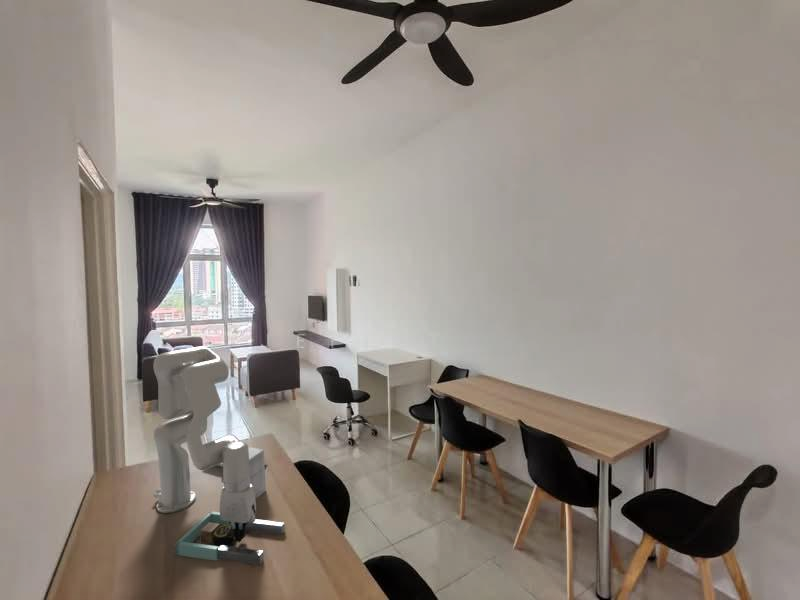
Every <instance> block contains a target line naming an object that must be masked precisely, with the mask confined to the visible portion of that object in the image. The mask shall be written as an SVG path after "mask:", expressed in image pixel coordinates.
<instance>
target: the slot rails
mask: <svg viewBox="0 0 800 600" xmlns="http://www.w3.org/2000/svg"><path fill="white" fill-rule="evenodd" d="M245 527H246V532H256V533H261V534H262V533H263V534H272V535H279V536H283V534H284V533H285V531H286V530H285V527H286V526H285V522H284V521H283V522H282V521H275V520H274V521H272V520H265V519H257V518H256V520H255V521H254V523H251V524H247V525H246V526H245ZM217 555H218V559H217V560H223V561H230V562H236V563H244V564H250V565H257V566H258V565H259V566H261V564H262V563H264V561H265V559H264V557H265V556H264V550H261V549H260V550H259V549H254V548H253V549H252V548H246V547H245V548H244V547H237V546H230V545H227V546H223V545H221V546H220V547H219V548H218V549H217Z"/></svg>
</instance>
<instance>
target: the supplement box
mask: <svg viewBox="0 0 800 600" xmlns="http://www.w3.org/2000/svg"><path fill="white" fill-rule="evenodd" d="M248 450H249V470H250V484H251V485H252V487H253V490H254V495H255V500H256V499H257V498H259V496H261V495H262V494H263V493H265V492H266V491H267V489H266V487H267V486H266V485H267V484H266V468H265V467H266V465H265V464H266V463H265V450H264V449H260V448H256V447H250V446H248Z"/></svg>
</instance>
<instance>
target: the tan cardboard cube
mask: <svg viewBox="0 0 800 600" xmlns="http://www.w3.org/2000/svg"><path fill="white" fill-rule="evenodd" d="M219 527H221V525H220V524H218V523H211V522H209V523H208V524H207V525H206V526H204V527H203V528H202V529H201V530H200V535H199V537H200V544H207V545H212V544H213V540H212V537H213V533H214V532H215V530H216V529H218V528H219Z"/></svg>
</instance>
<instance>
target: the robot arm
mask: <svg viewBox="0 0 800 600" xmlns="http://www.w3.org/2000/svg"><path fill="white" fill-rule="evenodd" d="M153 372H154V375H155V376H156V377H155V378H156V380H157V386H158V389H157V390H158V412H159V416H160V417H161V418H162V419H164V420H167V421H164V422H162V423H161V424H159V425H157V427H155V429H154V430H153V431H154V432H153V439H154V443H155V446H156V452H157V458H158V468H159V470H158V471H159V484H160V486H159V487H160V488H159V487H158V488H157V489H156V490H155V493H154V494H153V498H155V499H157V498H158V502H157V503H156V510H157V511H158V512H160V513H163V514H168V513H176V512H178V511H181V510H184V509H185V508H187V507H189V506H191V505H192V504H193V503H194V502H195V501H196V497H197V496H196V492H195V491H193V490H192V489H191V475H190V474H191V473H190V472H191V471H190V459H189V455H190V458H191V462H192V464H193V466H194V467H195V468H196V469H197V470H200V471H206V470H209V469H211V468H214V467H216V466H217V465H218V464H220V463H223V467H222V472H223V474H222V475H223V477H222V478H221V483H223V487H222V488H221V492H220V499H219V512H220V518H221V520H223V521H228V522H229V523H230V524H231V525H232V529H234V536H235V537H234V542H236V543H237V542H238V543H240V542H242V540H243V539H244V538H245V537H246V534H247V531H246V527H245V526H246V525H247V524H251V523H254V521H255V520H256V519H257V518H256V514H257V504H256V503H257V502H256V499H255V495H254V490H253V487H252V485H251V484H250V470H249V450H248V447H249V445H248V444H247V442H245V441H241V440H240V439H239V438H238V437H237V436H236V435H234V434H228V435H224V436H222V437H219V438H216V439H213V440H211V441H209V442H206V443H204V444H203V441H202V436H203V435H204V434H206V431H207V428H208V418H209V416H211V415H212V414H214V412H216V411H217V410H219V409H220V408H221V406H222V401H221V399H220V396H219V392H218V389H217V387H216V384H220V383H224V382H225V381H227V380H228V378H229V374H230V372H229V368H228V365H227V363H226V361H224V359H222V357H220V356H219V354H216V353H215V352H214V351H213V350H212V349H210V348H208V347H207V346H201V345H200V346H194V347H189V348H182V349H176V350H170V351H167V352H166V351H165V352H162V353H160V354H158V355H157V356H156V357H155V359H154V361H153ZM185 443H186V444H187V445H186V446H187V449H188V451H187V449H185V448H183V447H182V446H181V445H182V444H185Z"/></svg>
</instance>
